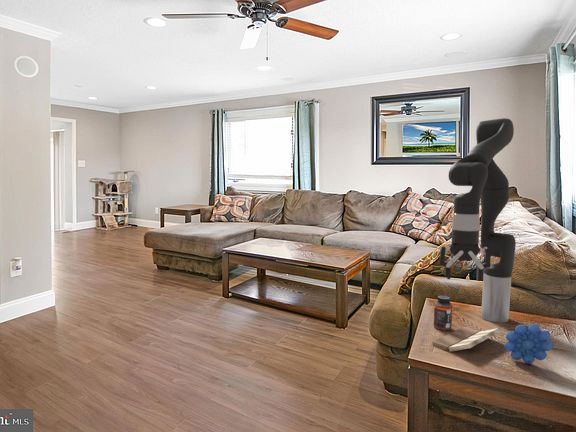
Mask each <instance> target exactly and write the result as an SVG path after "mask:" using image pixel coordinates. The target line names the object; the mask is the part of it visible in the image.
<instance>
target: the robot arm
mask: <svg viewBox="0 0 576 432" xmlns="http://www.w3.org/2000/svg"><path fill="white" fill-rule="evenodd" d="M514 127H515V126H514V124H513V121H512V120H511V119H510V118H507V117H506V118H505V117H504V118H496V119H488V120H481V121H479V122H478V124H477V126H476V130H475V131H476V133H475V135H476V137H475V138H476V145H474V146H473V147H472V148H471V149H470V150H469V152H468V153H467V154H466V155H465V156H463V157H462V158H460V159H458V160H457V161H455V162H454V163H453V164H452V165H451V167H450V168H449V170H448V174H447V175H448V180H449V181H450V182H449V183H451V184H452V185H453V186H455V187H457V186H458V187H460V186H461V187H471V189H470V190H469V191H468V192H465V193H459V194H457V195H455V196H454V200H453V216H452V223H451V224H452V226H451V244H450V246H445V245H440V247H439V258H438V264H439V265H441V266H444V276H445V278H446V279H447V280H451V271H452V267H451V266H452V265H453V264H455V263H456V261H459V262H462V261H463V262H464V261H466V262H471V261H473V262H474V264H475V265H476V266H477V267H476V276H475V277H476V281H477V282H481V280H483V281H482V292H481V293H482V296H481V298H482V299H481V310H480V311H481V312H480V317H481V318H482V319H484V320H486V321H490V322H494V323H501V324H502V323H503V324H504V323H508V322H509V321H510V320H509V317H510V316H509V315H510V305H511V304H510V303H511V292H512V291H511V289H512V276H513V275H512V274H513V269H514V262H515V254H516V253H515V252H516V247H517V245H516V244H517V243H516V238H515V236H514V235H513V234H511V233H502V232H495V223H496V220H497V218H498V217H499V215H500V214H501V212H502V211H503V210H504V208H505V207H506V205H507V204H508V202H509V200H510V187H509V186H510V184H509V183H510V182H509V180H508V178H507V176H506V175H505V173H504V171H502V170H501V168H500V167H499V166H498V165H497V163H496V162H495V160H494V158H495V156H497V154H499V153H500V152H501V151H503V150H504V149H505V147H507V146H508V145H509V144H510V143H511V142H512V140H513V138H514V134H515V132H514V131H515V130H514V129H515V128H514ZM480 211H481V225H480ZM479 243H480V246H479ZM448 252H451V255H450V256H449V258H448V259H447V260H446V261H445V259H446V258H445V257H446V254H447V253H448ZM480 252H481V255H483V263H481V261H480V260H479V258H478V257H477V256H478V255H479V254H480ZM491 257H493V258H499V262H497V263H492V264H491Z"/></svg>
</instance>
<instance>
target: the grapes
mask: <svg viewBox="0 0 576 432" xmlns="http://www.w3.org/2000/svg"><path fill="white" fill-rule="evenodd" d="M551 336H552V335H551V333H550V332H549V331H548V330H541V327H540V326H539V324H536V323H535V324H534V323H532V324H529V325H528V327H527V326H526V325H525V324H518V325H516V326H515V328H514V331H509V332H508V331H507V333H506V335H505V339H506V340H507V342H505V344H504V346H503V347H504V349H505V350H506V352H510V358H511V359H512V360H514V361H520V360H522V361H523V363H525V364H527V365H528V364H533V363H534V362H535V359H536V360H537V361H543V360H545V359H546V358H547V357H548V354H547V352H551V351H552V350H553V348H554V344H553V343H552V341H549V339H550V338H551Z"/></svg>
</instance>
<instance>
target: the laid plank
mask: <svg viewBox="0 0 576 432" xmlns="http://www.w3.org/2000/svg"><path fill="white" fill-rule="evenodd" d="M478 332H480V331H479V330H478V329H474V328H472V327H471V328H470V327H468V326H463V327H460V328H458V329H456V330H454V331H452V332H450V333H447V334H446V335H443V336H441V337H439V338H437V339H434V340H433V341H432V346H434V347H436V348H439V349H442V350H445V351H447V352H450V351H449V349H448V348H449V347H451V346H453V345H455V344H456V343H458V342H460V341H462V340H465V339H466V338H468V337H470V336H472V335H474V334H476V333H478Z"/></svg>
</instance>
